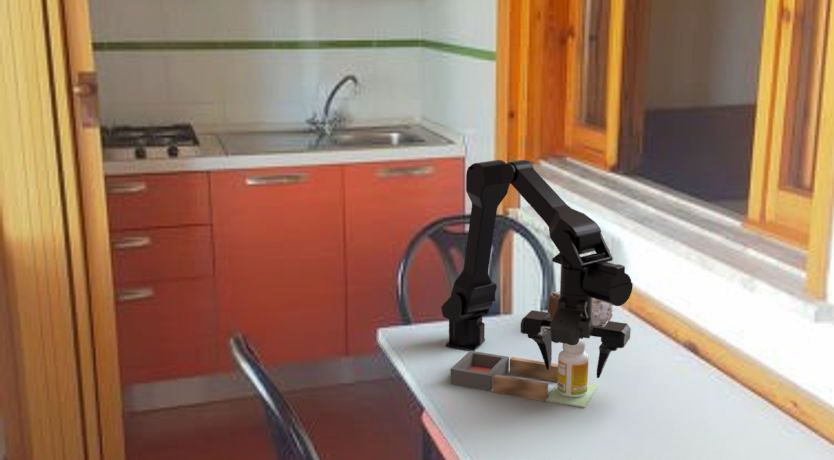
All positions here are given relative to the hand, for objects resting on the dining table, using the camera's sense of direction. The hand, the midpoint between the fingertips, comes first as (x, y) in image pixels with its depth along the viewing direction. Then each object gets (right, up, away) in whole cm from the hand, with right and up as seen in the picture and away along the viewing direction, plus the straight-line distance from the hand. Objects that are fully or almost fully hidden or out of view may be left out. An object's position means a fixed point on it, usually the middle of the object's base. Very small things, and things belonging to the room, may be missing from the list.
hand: (573, 373), depth 168 cm
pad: (0, -4, +1) cm, 4 cm away
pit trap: (-16, -2, +8) cm, 18 cm away
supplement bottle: (0, -4, +1) cm, 4 cm away
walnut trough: (-8, -3, +4) cm, 9 cm away
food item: (+7, +5, +35) cm, 36 cm away
